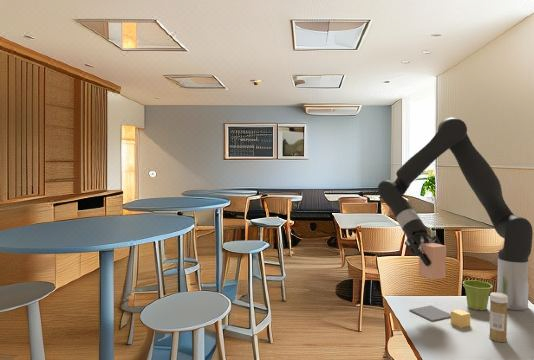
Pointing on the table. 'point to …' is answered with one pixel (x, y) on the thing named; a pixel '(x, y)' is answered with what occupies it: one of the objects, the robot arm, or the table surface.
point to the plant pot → (477, 294)
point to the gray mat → (431, 313)
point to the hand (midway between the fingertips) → (436, 263)
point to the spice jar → (498, 316)
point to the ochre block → (460, 318)
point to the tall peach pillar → (433, 261)
